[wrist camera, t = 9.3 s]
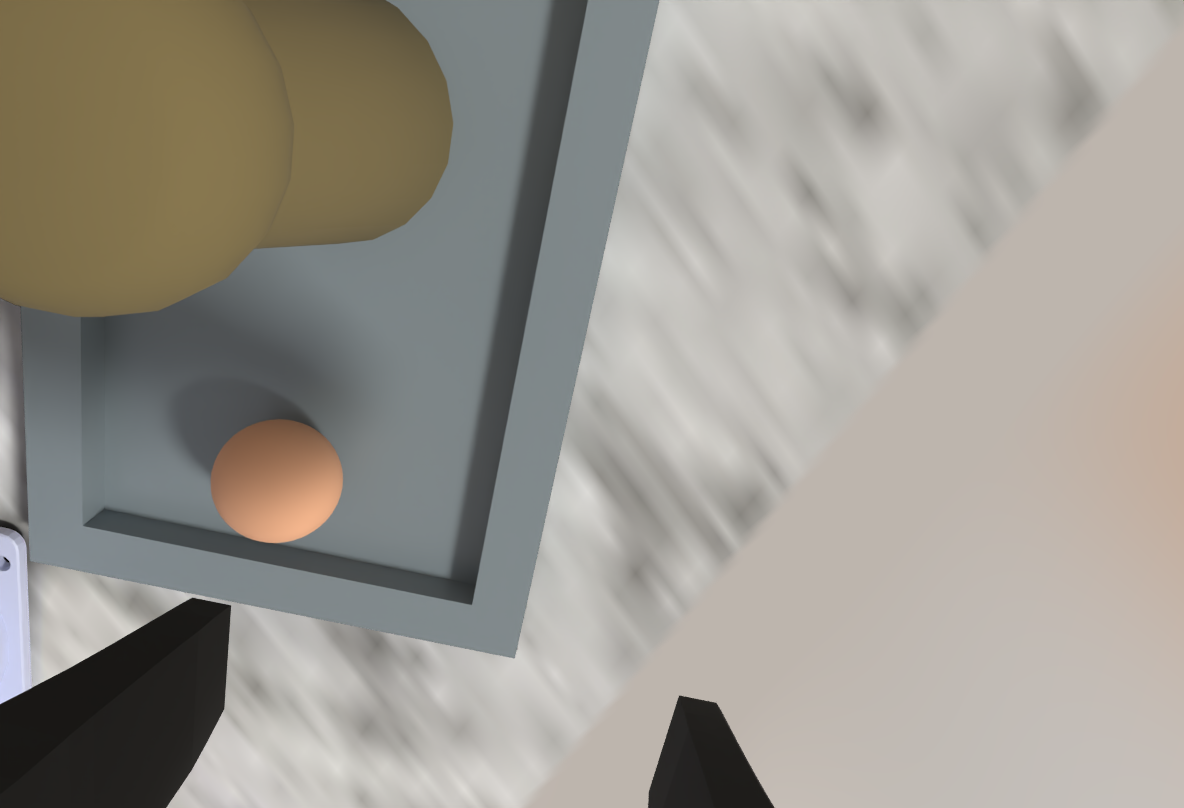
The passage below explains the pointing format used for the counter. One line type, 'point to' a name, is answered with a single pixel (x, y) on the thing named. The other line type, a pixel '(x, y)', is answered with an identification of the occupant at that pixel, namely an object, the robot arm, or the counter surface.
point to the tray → (369, 360)
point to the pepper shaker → (203, 140)
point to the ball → (276, 481)
